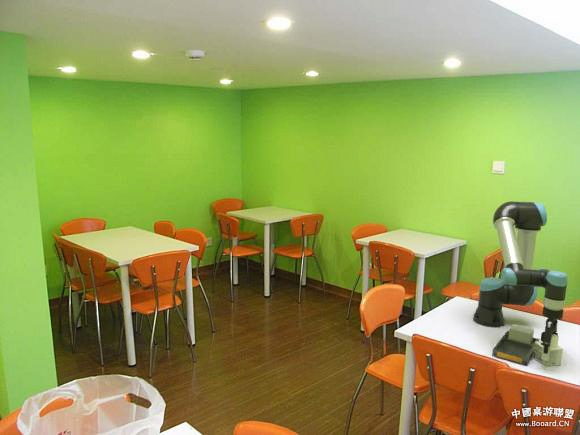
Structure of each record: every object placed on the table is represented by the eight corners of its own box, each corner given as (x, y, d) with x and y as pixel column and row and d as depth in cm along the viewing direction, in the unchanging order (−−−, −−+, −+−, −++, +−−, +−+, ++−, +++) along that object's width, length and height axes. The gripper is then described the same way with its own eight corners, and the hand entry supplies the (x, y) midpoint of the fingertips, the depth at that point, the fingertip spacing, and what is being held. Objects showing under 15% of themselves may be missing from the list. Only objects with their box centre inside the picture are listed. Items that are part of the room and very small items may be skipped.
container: (532, 357, 198) (536, 329, 196) (549, 357, 199) (552, 329, 197) (543, 366, 191) (547, 337, 189) (561, 365, 191) (564, 337, 189)
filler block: (508, 340, 211) (509, 328, 210) (511, 335, 217) (513, 323, 216) (529, 346, 205) (530, 334, 204) (532, 340, 211) (534, 328, 210)
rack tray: (491, 356, 199) (492, 349, 198) (506, 336, 220) (507, 330, 219) (526, 366, 190) (527, 359, 190) (538, 344, 211) (539, 339, 210)
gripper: (559, 318, 179) (552, 367, 182) (567, 302, 198) (562, 347, 202) (537, 313, 183) (532, 361, 187) (548, 298, 203) (543, 342, 206)
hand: (547, 354), depth 194 cm, fingers open, 13 cm apart
